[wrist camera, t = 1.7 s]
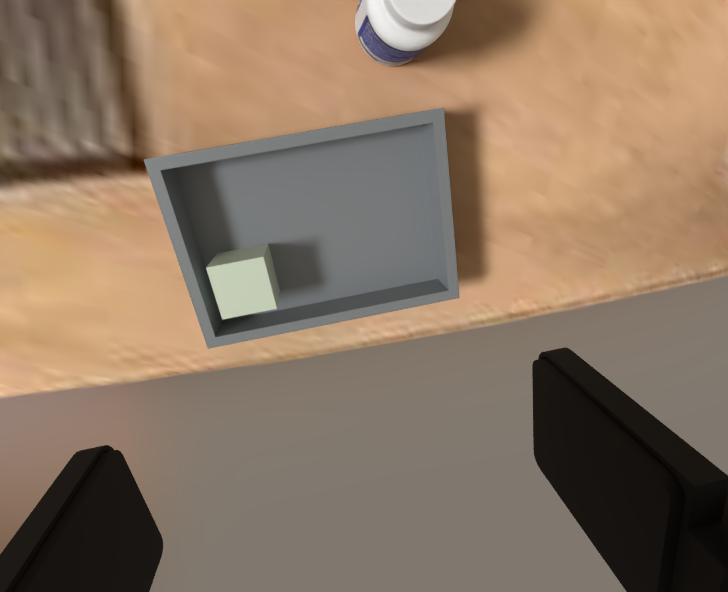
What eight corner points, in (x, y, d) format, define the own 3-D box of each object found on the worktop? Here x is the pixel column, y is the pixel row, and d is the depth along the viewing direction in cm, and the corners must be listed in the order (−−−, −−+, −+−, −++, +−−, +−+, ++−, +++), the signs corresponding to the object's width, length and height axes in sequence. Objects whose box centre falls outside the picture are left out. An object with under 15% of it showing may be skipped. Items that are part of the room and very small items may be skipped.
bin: (427, 111, 32) (443, 107, 28) (444, 281, 37) (459, 297, 33) (163, 157, 31) (143, 159, 27) (218, 326, 36) (207, 348, 32)
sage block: (268, 243, 33) (263, 256, 29) (280, 290, 34) (277, 308, 31) (217, 253, 33) (205, 267, 29) (231, 299, 34) (222, 319, 30)
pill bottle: (429, 62, 31) (474, 34, 23) (359, 71, 30) (379, 46, 22) (424, -24, 29) (472, -89, 21) (349, -17, 28) (367, -80, 20)
